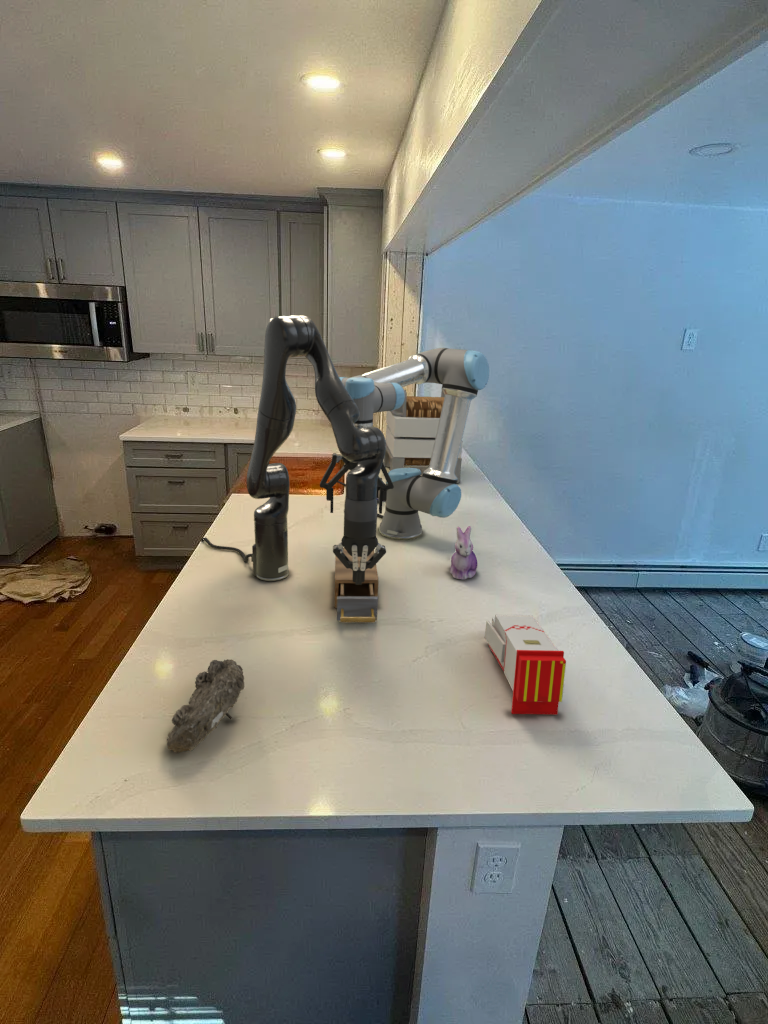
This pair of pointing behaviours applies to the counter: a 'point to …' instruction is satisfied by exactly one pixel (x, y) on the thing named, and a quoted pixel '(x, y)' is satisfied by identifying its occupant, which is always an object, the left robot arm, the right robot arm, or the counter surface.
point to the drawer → (357, 603)
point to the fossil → (206, 705)
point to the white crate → (414, 433)
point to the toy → (527, 663)
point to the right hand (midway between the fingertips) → (356, 511)
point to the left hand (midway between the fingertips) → (358, 583)
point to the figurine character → (378, 490)
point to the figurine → (463, 556)
